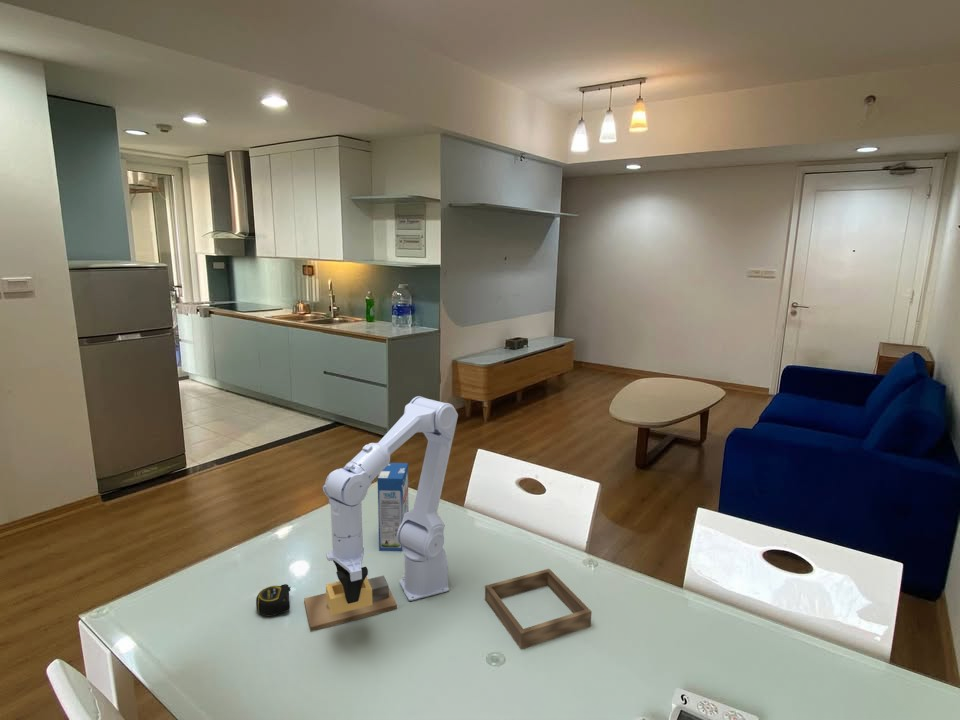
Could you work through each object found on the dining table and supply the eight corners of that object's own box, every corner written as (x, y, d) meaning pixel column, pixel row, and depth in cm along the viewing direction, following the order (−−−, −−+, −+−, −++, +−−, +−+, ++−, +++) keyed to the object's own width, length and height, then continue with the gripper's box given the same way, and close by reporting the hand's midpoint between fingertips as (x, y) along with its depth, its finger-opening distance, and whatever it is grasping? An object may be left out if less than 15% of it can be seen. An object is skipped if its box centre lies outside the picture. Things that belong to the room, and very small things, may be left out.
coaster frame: (548, 582, 127) (549, 568, 126) (590, 626, 112) (591, 611, 111) (485, 599, 120) (485, 585, 119) (520, 649, 105) (521, 633, 105)
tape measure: (290, 615, 114) (289, 600, 113) (255, 622, 112) (254, 606, 111) (291, 596, 120) (290, 581, 120) (258, 601, 118) (256, 586, 117)
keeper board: (385, 582, 125) (384, 563, 124) (397, 608, 116) (396, 587, 115) (304, 602, 118) (303, 581, 117) (310, 631, 109) (309, 609, 108)
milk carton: (403, 551, 138) (402, 478, 134) (379, 550, 138) (377, 478, 134) (408, 531, 148) (407, 463, 144) (386, 530, 148) (384, 462, 144)
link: (366, 590, 111) (366, 575, 110) (372, 604, 106) (372, 589, 106) (326, 600, 107) (325, 584, 107) (330, 615, 103) (330, 599, 102)
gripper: (319, 517, 108) (322, 577, 111) (332, 554, 96) (336, 621, 98) (354, 510, 111) (356, 569, 114) (372, 545, 99) (374, 611, 101)
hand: (349, 593), depth 107 cm, fingers closed on link, 5 cm apart
